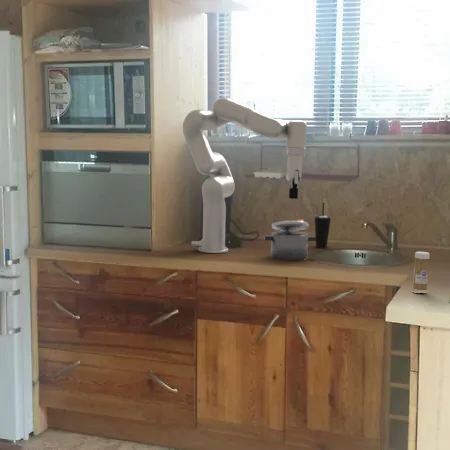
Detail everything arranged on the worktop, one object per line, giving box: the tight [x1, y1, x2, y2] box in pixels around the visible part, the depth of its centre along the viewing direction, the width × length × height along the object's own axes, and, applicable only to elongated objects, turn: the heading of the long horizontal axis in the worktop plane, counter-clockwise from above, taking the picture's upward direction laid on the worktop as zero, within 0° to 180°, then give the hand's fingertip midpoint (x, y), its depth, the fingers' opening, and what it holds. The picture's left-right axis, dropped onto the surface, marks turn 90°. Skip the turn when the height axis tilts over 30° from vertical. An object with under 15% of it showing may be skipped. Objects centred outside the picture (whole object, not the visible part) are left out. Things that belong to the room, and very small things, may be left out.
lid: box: [271, 218, 310, 231], centre depth 287 cm, size 15×15×3 cm
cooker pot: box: [263, 230, 316, 262], centre depth 288 cm, size 21×16×10 cm
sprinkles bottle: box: [412, 251, 431, 291], centre depth 229 cm, size 5×5×14 cm
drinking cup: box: [313, 202, 332, 249], centre depth 316 cm, size 8×8×20 cm
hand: (293, 198), depth 280 cm, fingers closed
